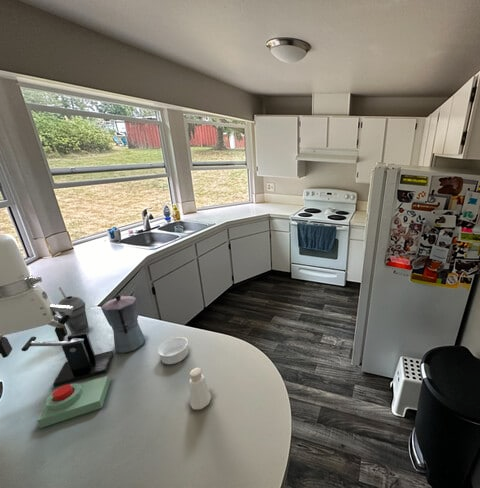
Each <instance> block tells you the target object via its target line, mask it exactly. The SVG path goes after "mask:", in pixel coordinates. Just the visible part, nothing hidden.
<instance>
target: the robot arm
mask: <svg viewBox="0 0 480 488" xmlns="http://www.w3.org/2000/svg"><path fill="white" fill-rule="evenodd" d="M42 282H43V280H42V277H41V276H33V274H31V272H30V270H29V268H28V265H27V263H26V261H25V258H24V256H23V253H22V251H21V249H20V246H19V243H18V242H17V240H16V238H15V237H14V236H13V235H11V234H7V233H0V355H1V357H2V358H8V357H10V354H11V353H12V351H13V347H12V345H11V344H10V341H9V339H8V337H6V336H8V335H12V334H16V333H20V332H24V331H28V330H32V329H36V328H40V327H44V326H47V325H48V326H51V327H53V328H54V333H55V335H56V338H57V339H58V340H57V341H60V342H62V341H65V338H66V336H67V337H68V329H67V326H66V325H65V324H66V322H67V321H68V320H69V318H70V316H71V313H72V310H73V306H63V305H58V304H54V302H53V301H52V299H51V297H50V295H49V294H48V293H47V291H46V289H44V287H43V286H42V285H41V284H39V283H42ZM59 312H64V313H65V314H64V316H63V317H62V316H58V315H57V313H59Z"/></svg>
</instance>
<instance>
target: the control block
mask: <svg viewBox="0 0 480 488" xmlns="http://www.w3.org/2000/svg"><path fill="white" fill-rule="evenodd" d="M68 385H71V386H72V388H73V393H72V395H70V396H69V397H68V398H66V399H64V400H61V401H55V400H54V398H53V395H52V394H53V392H54V391H55V390H54V391H52V393H51V394H50V395H48V397H47V399H46V400H45V405H44V407H43V408H42V411H41V412H40V413H39V417H38V418H37V419H36V421H37V423H38V425H39V427H40V429H41V428H45V427H48V426H51V425H54V424H58V423H60V422H63V421H67V420H70V419H72V418H76V417H79V416H83V415H84V414H87V413H91V412H94V411H97V410H100V409H102V408H103V406H104V402H105V400H106V397H107V393H108V391H109V387H110V385H111V381H110V378H109V375H106V376H102V377H99V378H95V379H92V380H88V381H84V382H82V383H68Z"/></svg>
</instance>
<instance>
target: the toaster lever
mask: <svg viewBox="0 0 480 488" xmlns="http://www.w3.org/2000/svg"><path fill="white" fill-rule="evenodd" d="M81 340H83V343H84V338H72V340H71V341H68V340H64V341H62V342H60V341H59V340H37V337H36V336H31V337H30V338H29V339H28V340H27V341H26V343H25V344H24V345H23V347H22V348H21V351H22V352H27V351H28V350H29V349H30V347H62V345H63V344H67V343H72V342H76V341H81Z"/></svg>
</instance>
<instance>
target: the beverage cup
mask: <svg viewBox="0 0 480 488" xmlns="http://www.w3.org/2000/svg"><path fill="white" fill-rule="evenodd" d="M58 290H59V292H60V293H61V295H62V297H63V298H62V299H61V300H60V301H59V302H58V303H57V305H63V306H73V310H72V313H71V316H70V318H69V320H68V321H67V322H66V323H65V324H66V325H65V326H66V327H67V328H68V330H69V332H70V334H71V335H75V334H80V333H85V332H87V334H88V333H89V332H90V326H89V322H88V316H87V311H86V302H85V301H84V299H83V298H81V297H79V296H77V295H76V296H75V295H69V296H67V295H66V294H65V292H64V291H63V289H62V288H61V287H60V286H59V287H58ZM58 314H59V315H60V317H61V318H62V317H63V316H64V314H65V313H64V312H58Z"/></svg>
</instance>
